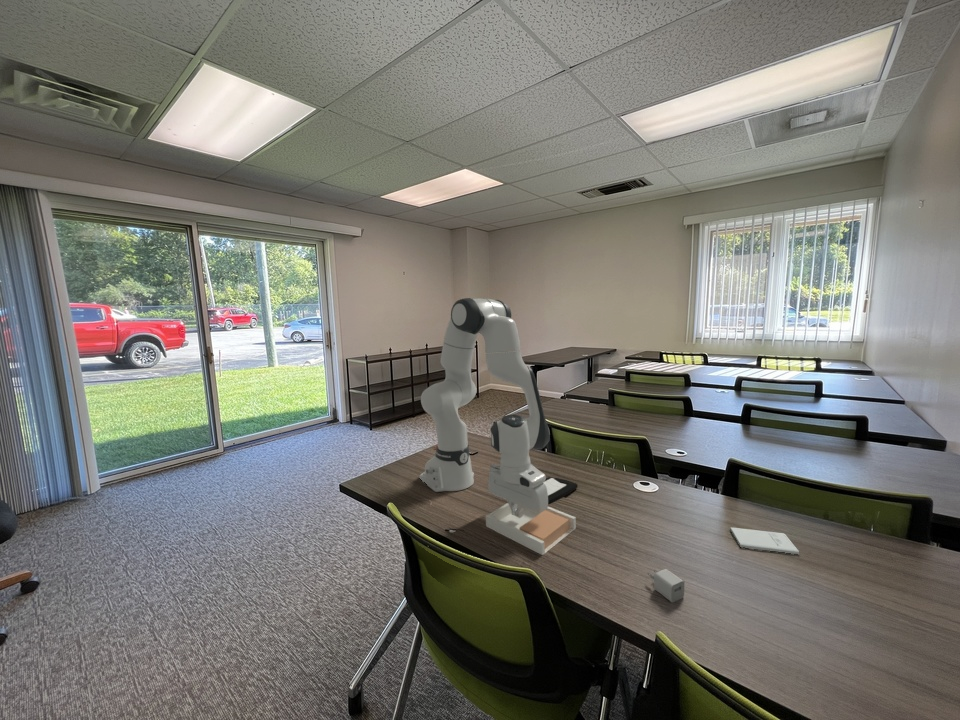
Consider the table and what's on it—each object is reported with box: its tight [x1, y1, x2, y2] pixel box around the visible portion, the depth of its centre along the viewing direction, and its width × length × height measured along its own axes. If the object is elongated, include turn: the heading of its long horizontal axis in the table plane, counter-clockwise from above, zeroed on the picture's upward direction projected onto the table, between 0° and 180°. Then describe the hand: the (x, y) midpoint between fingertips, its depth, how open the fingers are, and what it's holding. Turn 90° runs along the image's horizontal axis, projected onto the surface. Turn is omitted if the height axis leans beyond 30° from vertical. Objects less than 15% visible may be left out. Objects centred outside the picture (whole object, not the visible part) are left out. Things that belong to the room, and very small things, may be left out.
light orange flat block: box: [520, 510, 569, 549], centre depth 104 cm, size 8×12×3 cm, turn 135°
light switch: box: [543, 476, 578, 505], centre depth 130 cm, size 20×3×14 cm
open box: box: [485, 502, 577, 556], centre depth 108 cm, size 20×16×4 cm
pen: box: [444, 527, 465, 533], centre depth 107 cm, size 1×19×1 cm, turn 72°
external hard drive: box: [729, 527, 800, 556], centre depth 98 cm, size 2×8×12 cm
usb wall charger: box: [647, 568, 685, 603], centre depth 83 cm, size 4×7×4 cm, turn 24°
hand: (517, 515), depth 111 cm, fingers closed
